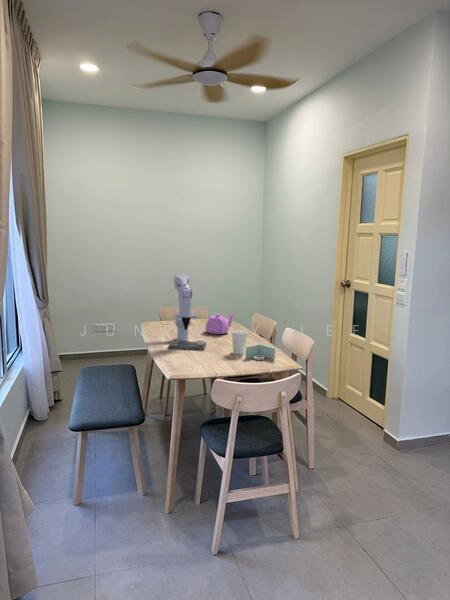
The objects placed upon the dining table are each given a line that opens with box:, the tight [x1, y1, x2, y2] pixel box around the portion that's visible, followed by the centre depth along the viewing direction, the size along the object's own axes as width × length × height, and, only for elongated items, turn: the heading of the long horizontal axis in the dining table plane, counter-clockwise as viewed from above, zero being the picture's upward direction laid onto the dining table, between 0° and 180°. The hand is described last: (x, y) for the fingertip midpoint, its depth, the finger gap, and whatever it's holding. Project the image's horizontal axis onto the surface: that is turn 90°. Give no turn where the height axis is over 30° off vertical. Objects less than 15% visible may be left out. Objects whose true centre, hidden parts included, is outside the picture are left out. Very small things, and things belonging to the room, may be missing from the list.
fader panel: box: [168, 340, 207, 351], centre depth 258 cm, size 12×22×2 cm, turn 88°
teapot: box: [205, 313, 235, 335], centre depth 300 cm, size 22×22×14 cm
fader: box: [196, 338, 205, 345], centre depth 257 cm, size 5×4×3 cm
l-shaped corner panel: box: [245, 343, 276, 361], centre depth 237 cm, size 12×12×8 cm
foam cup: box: [231, 329, 248, 355], centre depth 248 cm, size 10×9×13 cm
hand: (185, 329), depth 260 cm, fingers closed
